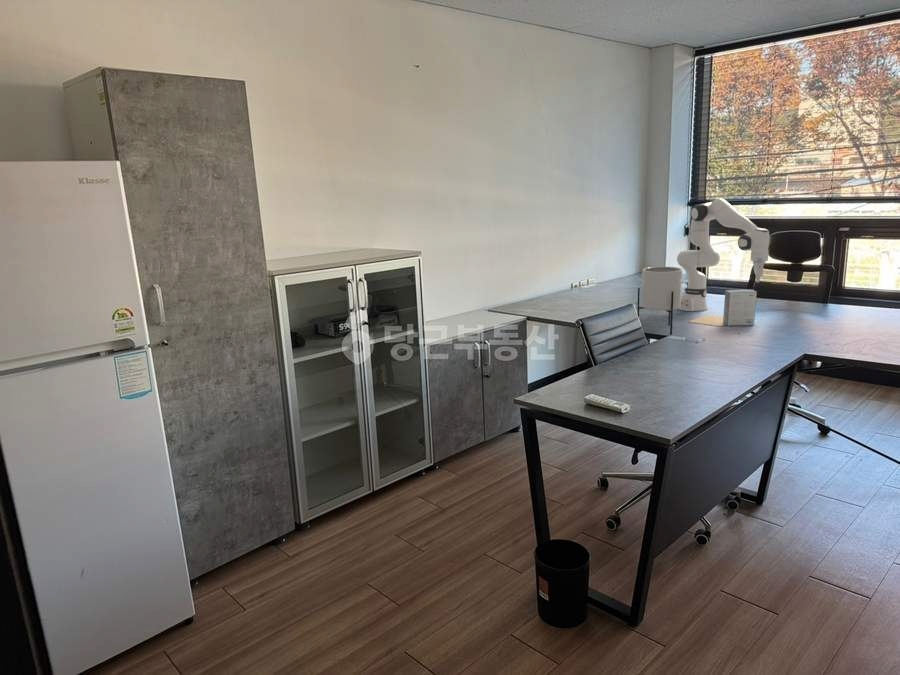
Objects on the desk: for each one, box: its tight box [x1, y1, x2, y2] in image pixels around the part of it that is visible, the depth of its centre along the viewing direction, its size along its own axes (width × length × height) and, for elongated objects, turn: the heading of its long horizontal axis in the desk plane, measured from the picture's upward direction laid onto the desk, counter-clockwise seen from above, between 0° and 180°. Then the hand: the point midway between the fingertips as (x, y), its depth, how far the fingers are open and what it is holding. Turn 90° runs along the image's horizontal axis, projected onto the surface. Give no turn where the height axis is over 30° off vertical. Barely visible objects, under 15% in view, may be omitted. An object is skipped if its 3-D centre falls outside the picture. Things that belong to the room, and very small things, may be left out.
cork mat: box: [688, 314, 727, 328], centre depth 371 cm, size 20×22×1 cm
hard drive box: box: [723, 289, 758, 327], centre depth 357 cm, size 16×8×20 cm, turn 84°
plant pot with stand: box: [637, 266, 683, 335], centre depth 355 cm, size 24×24×36 cm
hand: (757, 282), depth 346 cm, fingers closed
